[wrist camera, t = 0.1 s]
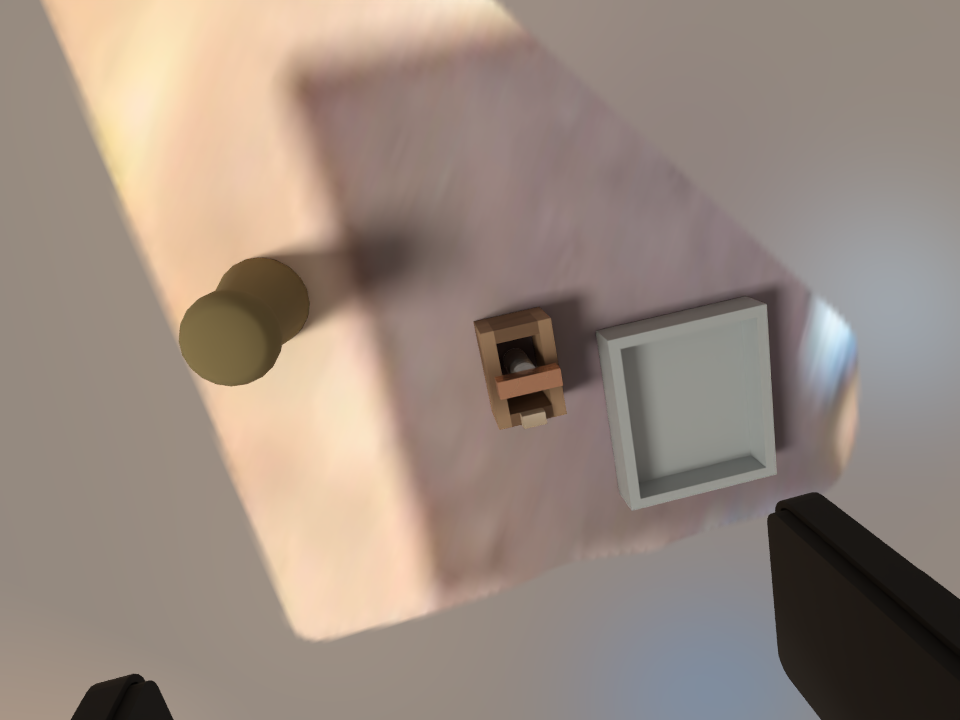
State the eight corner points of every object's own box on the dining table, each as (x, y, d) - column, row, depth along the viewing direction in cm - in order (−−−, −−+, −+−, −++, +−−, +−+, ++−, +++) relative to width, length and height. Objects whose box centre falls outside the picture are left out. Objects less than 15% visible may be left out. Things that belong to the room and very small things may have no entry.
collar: (473, 321, 46) (481, 337, 42) (539, 306, 46) (553, 320, 42) (492, 411, 48) (501, 434, 44) (554, 396, 49) (569, 418, 45)
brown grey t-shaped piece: (484, 354, 47) (496, 378, 42) (540, 342, 47) (559, 364, 42) (489, 378, 47) (501, 404, 42) (544, 365, 48) (563, 389, 43)
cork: (290, 246, 43) (259, 273, 33) (322, 331, 45) (302, 382, 34) (201, 272, 43) (141, 308, 32) (236, 356, 45) (190, 416, 34)
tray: (595, 330, 48) (607, 340, 45) (745, 296, 48) (766, 304, 46) (619, 492, 52) (631, 510, 49) (757, 458, 53) (776, 474, 50)
